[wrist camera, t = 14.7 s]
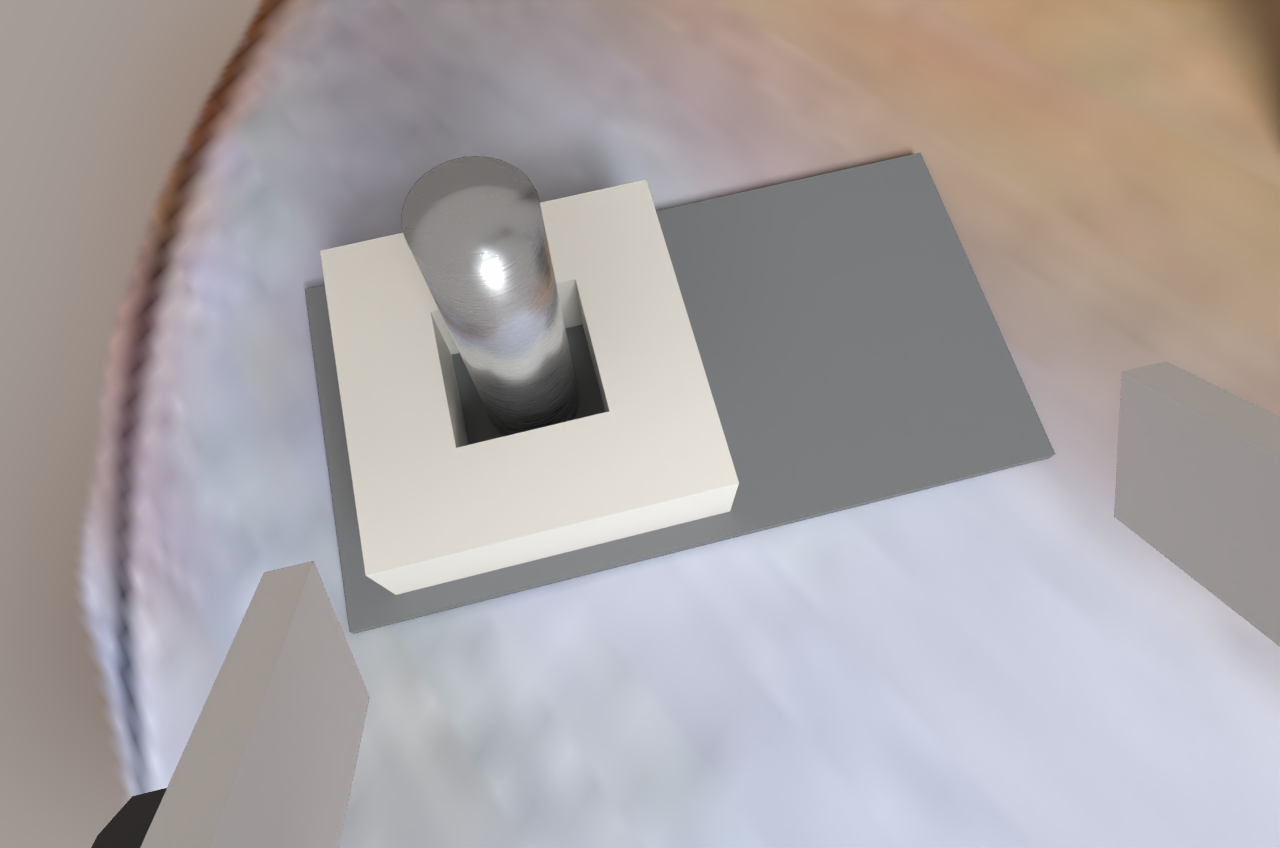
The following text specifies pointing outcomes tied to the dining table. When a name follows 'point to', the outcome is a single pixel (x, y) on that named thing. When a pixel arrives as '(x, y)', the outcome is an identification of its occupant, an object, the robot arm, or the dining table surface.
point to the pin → (495, 287)
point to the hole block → (536, 459)
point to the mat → (777, 372)
